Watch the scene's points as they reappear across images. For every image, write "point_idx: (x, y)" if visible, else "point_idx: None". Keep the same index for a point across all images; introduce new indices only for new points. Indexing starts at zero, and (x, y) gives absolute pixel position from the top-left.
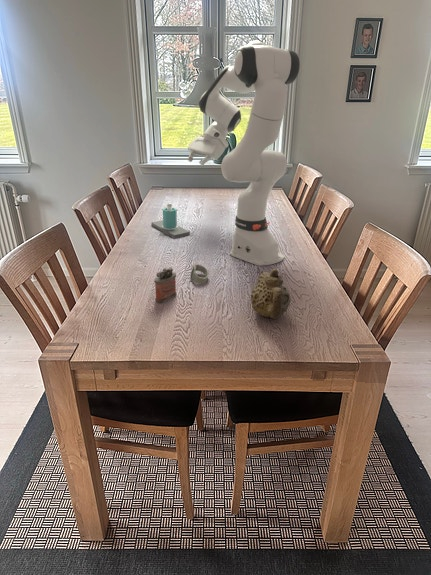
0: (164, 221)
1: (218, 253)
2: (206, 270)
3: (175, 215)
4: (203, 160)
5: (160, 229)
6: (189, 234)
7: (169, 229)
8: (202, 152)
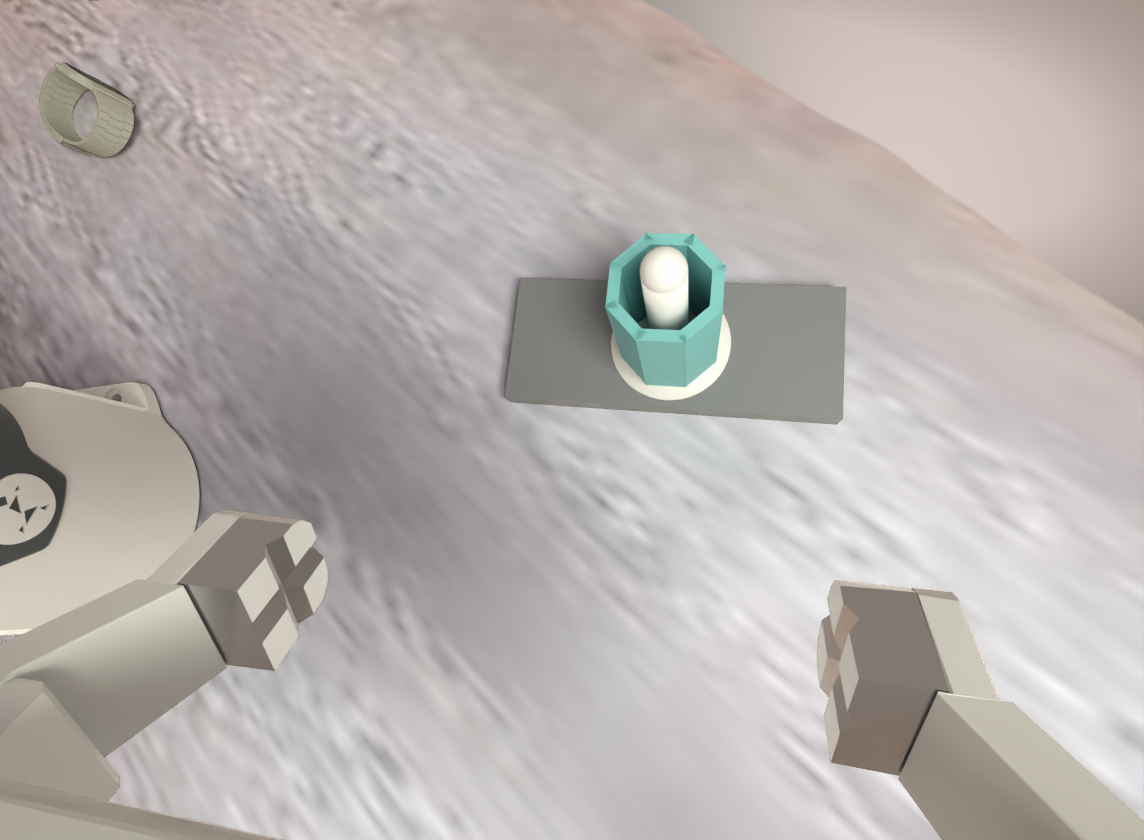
0: None
1: (204, 355)
2: (70, 141)
3: (614, 328)
4: (161, 588)
5: None
6: (510, 399)
7: None
8: (153, 812)
